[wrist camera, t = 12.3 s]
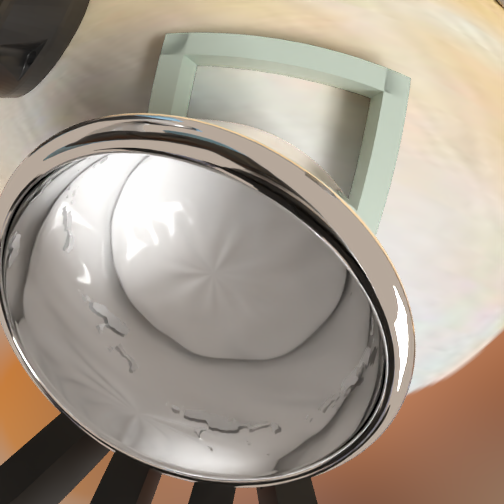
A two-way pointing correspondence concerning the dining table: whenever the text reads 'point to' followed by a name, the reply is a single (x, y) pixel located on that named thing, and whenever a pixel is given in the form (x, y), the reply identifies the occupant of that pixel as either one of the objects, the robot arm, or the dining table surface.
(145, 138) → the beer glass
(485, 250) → the dining table surface
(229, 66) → the pale green u-shaped frame
